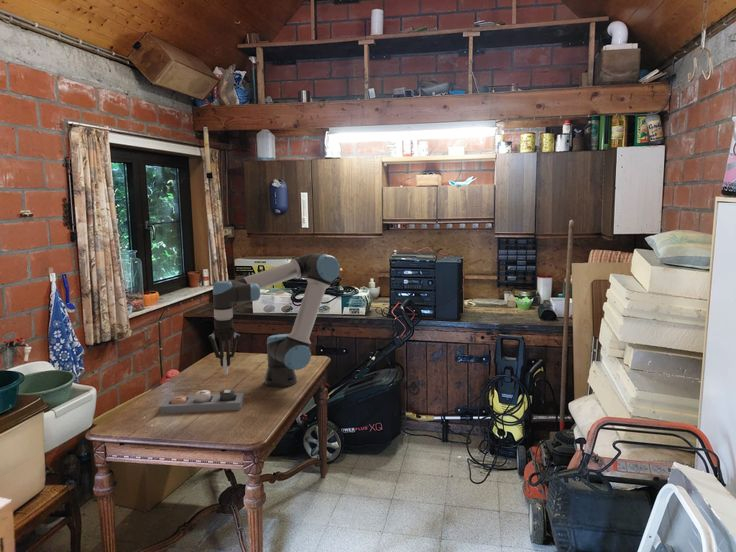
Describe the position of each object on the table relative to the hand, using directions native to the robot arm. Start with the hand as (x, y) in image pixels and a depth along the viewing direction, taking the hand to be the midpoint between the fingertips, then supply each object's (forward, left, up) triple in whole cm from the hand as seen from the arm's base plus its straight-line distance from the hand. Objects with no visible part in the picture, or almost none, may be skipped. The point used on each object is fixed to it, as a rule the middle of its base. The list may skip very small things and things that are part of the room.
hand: (225, 373), depth 225 cm
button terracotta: (+20, 0, -13) cm, 24 cm away
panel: (+10, 0, -14) cm, 17 cm away
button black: (0, 0, -11) cm, 11 cm away
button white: (+10, 0, -11) cm, 15 cm away
